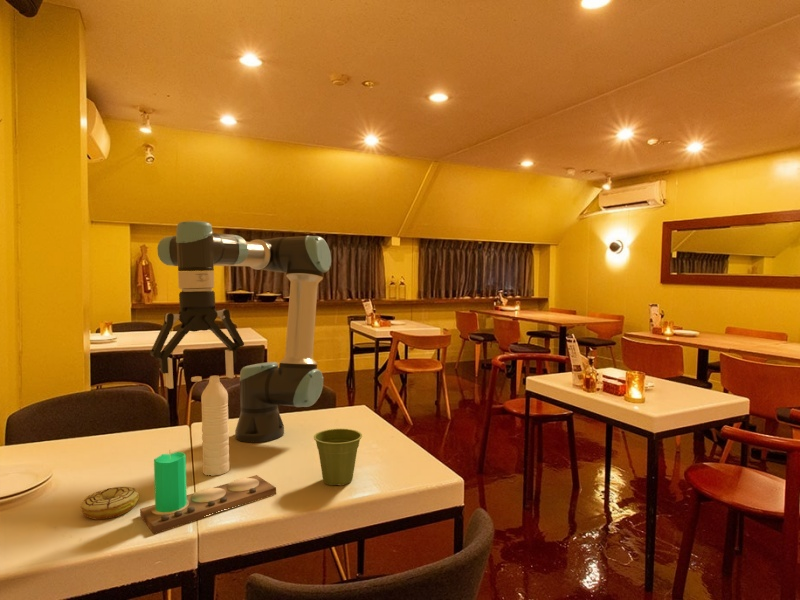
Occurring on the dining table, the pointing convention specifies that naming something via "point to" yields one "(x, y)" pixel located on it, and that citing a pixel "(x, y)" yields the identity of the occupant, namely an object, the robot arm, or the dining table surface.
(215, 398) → the water bottle
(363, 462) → the dining table surface
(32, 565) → the dining table surface
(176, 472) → the candle
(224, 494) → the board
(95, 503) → the decorated donut
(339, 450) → the plant pot
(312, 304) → the robot arm
